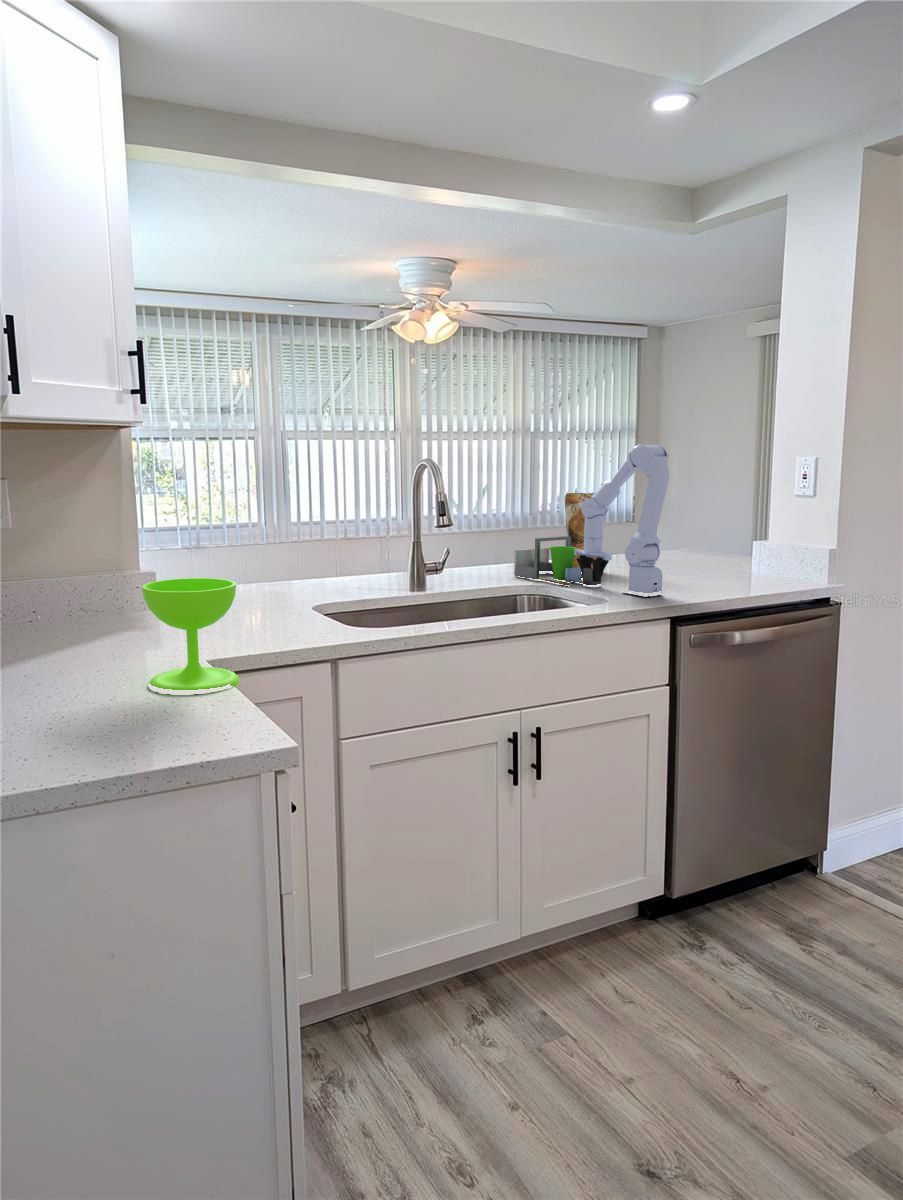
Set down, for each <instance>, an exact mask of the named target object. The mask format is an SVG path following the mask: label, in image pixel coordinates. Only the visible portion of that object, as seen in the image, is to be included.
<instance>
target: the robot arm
mask: <svg viewBox="0 0 903 1200" xmlns="http://www.w3.org/2000/svg"><path fill="white" fill-rule="evenodd" d="M669 457H670V454H669V453H668V451H667V450H666V449H665V447H664V446H663V445H661V444H641V443H640V444H636V445H635V446H634V447H633V448H632V450H631V451H630V452H628V454H627V458H626V459H625V461H624V462H623V464H622V465H621V466H620V468H619V469H618V470H617V472H616V473H615V475H614V476H613V478H612V479H611V480H606V481H603V482H602V483H600V487H599V488H598V489H597V491H595V492H594V493H595V494H593V495H592V497H591V498H590V499H586V500H584V502H583V504H582V507H581V511H582V514H583V515H584V516H585V528H584V550H582V549H575V550H574V555H575V556H580V557H579V558H577V561H578V563H579V566H580V568H581V572H582V575H581V577H583V569H584V568H585V567H591V564H593V569H594V582H600V581H601V582H602V577H603V574H604V571H605V569H606V567H607V565H608V564H609V561H612V558H613V553H609V552H606V551H603V542H602V540H603V541H604V539H603V538H604V523H605V519H606V518H605V517H606V516H607V514H608V511H609V506H610V505H611V504H612V503H613V502H614V501H615V499H617V497H618V496H619V495H620V493H621V487H622V486H623V485H624V484H625V483H626V482H627V481H628V480H629V479H630V478H631V477H632V476H633V475H634V473H636V472H637V471H639V470H640V471H641V472H642V473H644V475H645V477H647V479H648V483H647V485H646V486H647V487H646V491H645V496H644V499H643V504H642V509H641V513H640V517H639V521H638V522H639V523H638V527H637V531H636V532H635V534H634V535H632V537H631V538H630V540H629V544H628V546H626V548H625V551H624V556H625V559H626V561H627V562H628V566H629V571H628V590H630V591H635V592H643V593H653V592H659V591H663V590H662V589H663V588H662V587H663V572H662V570H661V568H659V567H656V566H655V565H656V564H657V563H656V561H658V560H659V558H660V556H661V549H660V542H661V540H660V538H659V537H658V535H657V532H658V527H659V523H660V520H661V514H662V511H663V506H664V503H665V497H666V493H667V489H668V485H669V480H670V469H669V464H668V462H669ZM590 555H594V556H590ZM593 558H597V559H593ZM628 590H627V591H628Z"/></svg>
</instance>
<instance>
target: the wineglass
mask: <svg viewBox="0 0 903 1200" xmlns="http://www.w3.org/2000/svg"><path fill="white" fill-rule="evenodd" d="M236 588H237V582H236V581H234V580H230V579H224V578H213V577H212V578H211V577H187V578H184V577H183V578H173V579H172V578H171V579H162V580H155V581H152V582H147V583H145V584H143V585H142V586H141V591H142V594H143V595H142V596H143V600H144V601H145V603H146V605H147V607H148V609H149V610H150V611H151V613H152V614H153V615H154V616H155V617H156V618H157V619H158V620H159V621H161V622H162V623H164V624H166V625H167V626H169V627H172V628H176V629H179V630H183V631H184V630H185V631H186V649H187V654H186V655H187V664H186V666H185V667H184V668H178V669H173V670H168V671H164V672H162V673H159V674H157V675H155V676H153V677H152V678H151V679H150V680H149V681H150V682H148V684H149V683H150V684H151V685H152V686H155V687H158V688H163V689H172V690H198V689H210V688H217V687H223V686H226V685H228V684H230V685H231V686H233V687H232V688H235V687H236V686H238V684H239V683H240V680H241V679H240V677H239V676H238V675H237V674H236V673H235V671H232V670H229V669H226V668H222V667H221V668H220V667H212V666H211V667H210V666H206V667H205V666H202V665H201V663H200V659H199V657H200V656H199V654H200V653H199V632H198V630H201V629H204V628H206V627H209V626H211V625H214V624H215V623H217V622H218V621H219V620H220V619H222V618H224V616H225V615H226V614H227V613H228V611H229V610H230V609H231V607H232V604H233V603H234V599H235V597H236Z"/></svg>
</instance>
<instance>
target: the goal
mask: <svg viewBox="0 0 903 1200" xmlns="http://www.w3.org/2000/svg"><path fill="white" fill-rule="evenodd" d="M563 540H564V541H565V546H568V547H571V536H568V535H563V536H548V537H535V538H534V548H529V549H527V548H526V549H514V561H513V562H514V564H513V567H514V568H513V570H514V571H513V576H514V575H515V576H520V577H525V578H532V579H537V577H540V575H539V571H552V572H553V567H552V562H549V561H550V549H549V548H550V547H542V548H541V542H553V541H563Z"/></svg>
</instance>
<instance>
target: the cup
mask: <svg viewBox="0 0 903 1200" xmlns="http://www.w3.org/2000/svg"><path fill="white" fill-rule="evenodd" d="M548 548H549V552H550V558H551V563H552V567H553V575H552V576H553V580H554V579H558V580H565V568H570V567H573V563H574V557H575V555H574V550H575V549H577V548H576V547H568V546H566V545H565V546H564V545H560V546H559V545H557V546H549V547H548Z"/></svg>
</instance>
